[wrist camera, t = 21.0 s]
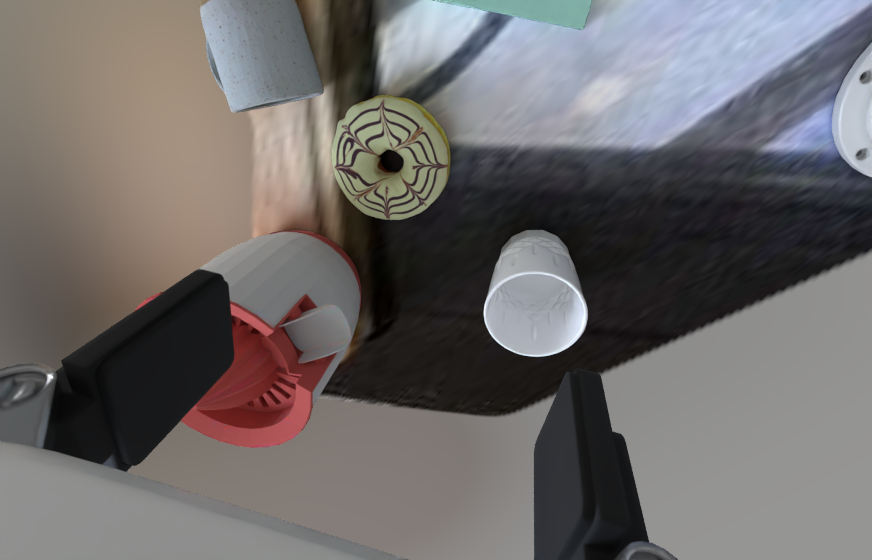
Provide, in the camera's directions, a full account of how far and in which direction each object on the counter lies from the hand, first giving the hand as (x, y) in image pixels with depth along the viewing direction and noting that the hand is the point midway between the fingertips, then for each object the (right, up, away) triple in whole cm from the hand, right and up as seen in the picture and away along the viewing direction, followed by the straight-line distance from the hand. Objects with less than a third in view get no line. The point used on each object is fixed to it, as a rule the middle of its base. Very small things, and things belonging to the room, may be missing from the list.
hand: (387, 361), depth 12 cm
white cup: (+11, +4, +31) cm, 33 cm away
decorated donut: (-2, +14, +28) cm, 32 cm away
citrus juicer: (-12, +3, +37) cm, 38 cm away
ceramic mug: (-13, +22, +26) cm, 37 cm away
